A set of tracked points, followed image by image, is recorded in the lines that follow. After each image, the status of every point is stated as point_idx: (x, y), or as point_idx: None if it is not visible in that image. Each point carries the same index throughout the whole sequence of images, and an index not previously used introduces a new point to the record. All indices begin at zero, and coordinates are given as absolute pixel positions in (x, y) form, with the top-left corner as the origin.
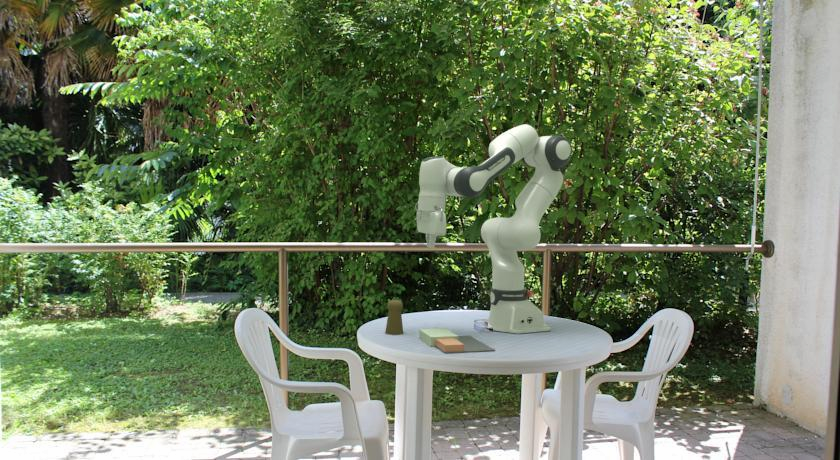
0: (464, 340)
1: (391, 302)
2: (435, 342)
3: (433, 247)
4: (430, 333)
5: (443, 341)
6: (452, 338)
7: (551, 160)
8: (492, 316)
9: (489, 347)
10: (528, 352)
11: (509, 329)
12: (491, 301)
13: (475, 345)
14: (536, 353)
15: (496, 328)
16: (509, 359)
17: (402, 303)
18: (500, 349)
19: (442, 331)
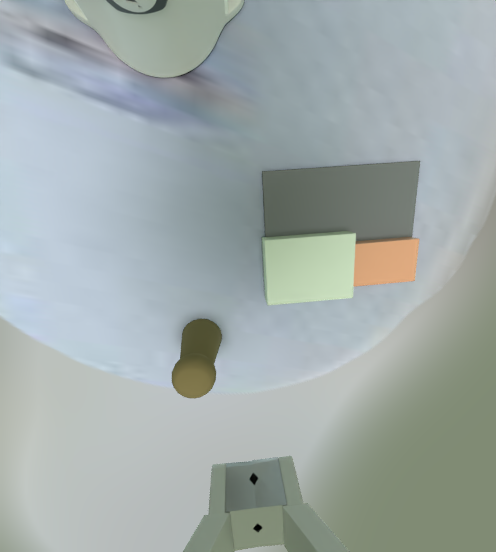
0: (314, 204)
1: (206, 393)
2: None
3: (293, 465)
4: (317, 290)
5: (380, 275)
6: (357, 248)
7: None
8: (166, 43)
9: (395, 166)
10: (452, 77)
11: (225, 17)
12: (136, 9)
13: (368, 193)
14: (467, 59)
15: (199, 57)
16: (491, 156)
17: (198, 361)
18: (405, 140)
19: (300, 257)
